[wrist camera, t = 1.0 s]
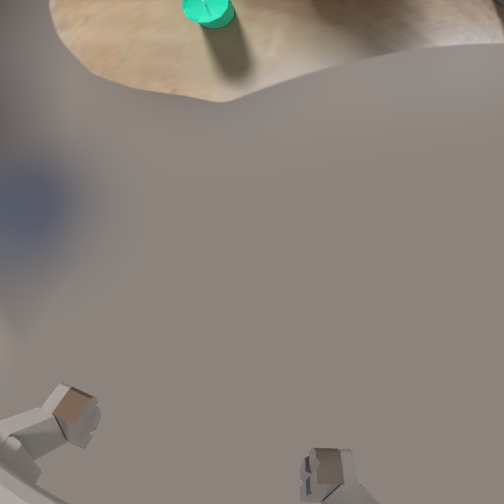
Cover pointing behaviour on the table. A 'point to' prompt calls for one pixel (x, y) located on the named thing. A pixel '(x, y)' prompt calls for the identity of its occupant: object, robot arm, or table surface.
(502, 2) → the switch box
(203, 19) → the candle
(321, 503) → the robot arm
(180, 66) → the table surface
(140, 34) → the table surface
